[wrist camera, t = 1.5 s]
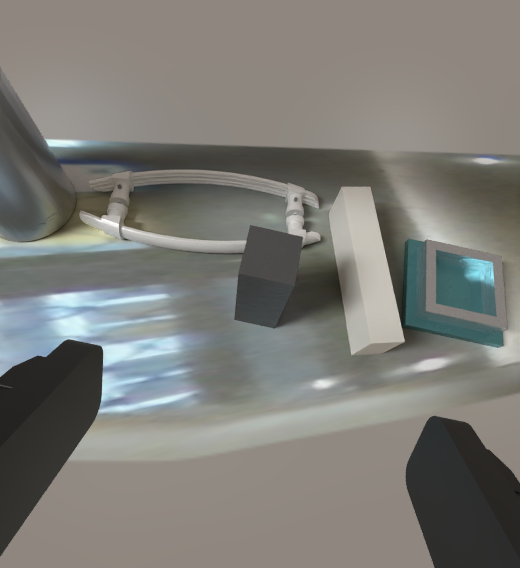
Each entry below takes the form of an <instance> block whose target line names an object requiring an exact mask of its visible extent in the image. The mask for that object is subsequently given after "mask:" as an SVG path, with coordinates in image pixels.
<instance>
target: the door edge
mask: <svg viewBox="0 0 520 568" xmlns="http://www.w3.org/2000/svg"><path fill="white" fill-rule="evenodd" d="M329 220H330V226H331V232H332V239H333V245H334V251H335V257H336V263H337V269H338V275H339V282H340V288H341V294H342V300H343V306H344V312H345V318H346V325H347V331H348V337H349V343H350V349H351V355H370V354H382V353H384V352H386V351H388V350H390V349H392V348H394V347H396V346H398V345H400V344H402V343H404V342H405V340H404V336H403V331H402V327H401V322H400V318H399V313H398V309H397V304H396V300H395V295H394V291H393V286H392V282H391V277H390V273H389V268H388V264H387V259H386V255H385V250H384V246H383V241H382V237H381V232H380V228H379V223H378V219H377V214H376V210H375V205H374V201H373V196H372V192H371V187H341V189H340V192H339V194H338V196H337V198H336V200H335V202H334V204H333V206H332V208H331V211H330V213H329Z"/></svg>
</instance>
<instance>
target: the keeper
mask: <svg viewBox="0 0 520 568" xmlns="http://www.w3.org/2000/svg"><path fill="white" fill-rule="evenodd" d="M402 327H405V328H410V329H414V330H419V331H424V332H428V333H433V334H437V335H442V336H446V337H451V338H456V339H460V340H465V341H469V342H474V343H479V344H483V345H488V346H492V347H497V348H499V347H502V346H503V332H502V331H503V330H506V329H508V328H507V316H506V304H505V292H504V280H503V268H502V256H500V255H495V254H491V253H486V252H481V251H477V250H472V249H468V248H463V247H459V246H454V245H450V244H445V243H441V242H436V241H432V240H426V241H425V242H421V241H416V240H412V239H408V240H407V241H406V242H405V259H404V284H403V309H402Z"/></svg>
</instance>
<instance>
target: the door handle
mask: <svg viewBox="0 0 520 568" xmlns="http://www.w3.org/2000/svg"><path fill="white" fill-rule="evenodd" d="M174 183H198V184H215V185H224V186H233V187H240V188H246V189H252V190H256V191H261V192H266V193H270V194H274V195H277V196H281V197H285V198H286V203H288V207H287V209H286V216H287V219H286V226H287V228H288V234H292V235H297V236H302V237H303V241H302V247H301V248H303V246H304V245H307V244H311V243H314V242H318V241H321V240H320V234H318V233H317V232H307V233H306V230H303V229H302V227H303V226H304V218H303V216H304V208H303V207H302V203H303V204H306V205H309V206H312V207H314V208H317V209H319V201H318V198H317V196H316V195H315V194H314V193H312V192H310V191H307V190H305V189H304V188H303V187H300V186H297V185H294V184H291V183H289V182H288V183H287V184H284V183H280V182H277V181H273V180H269V179H264V178H259V177H255V176H249V175H243V174H237V173H230V172H220V171H210V170H157V171H145V172H135V173H133V171H132V170H131V171H125V172H119V173H113V174H112V175H111V176H108V177H104V178H99V179H94V180H89V181H88V184H89V185H90V187H91V188H93V189H95V191H102V192H108V191H112V190H113V193H112V194H111V196H110V199H109V202H110V204H109V205H108V209H107V213H108V215H102V218H99V217H97V216H95V215H92V214H90V213H87V212H85V211H82V210H81V211H80V214H79V217H80V219H81V220H82V221H83V222H84V223H85V224H87V225H89V226H92V227H94V228H96V229H99V230H101V231H104V233H105V234H107V235H110V236H113V237H116V238H118V239H121V240H124V238H125V239H129V240H133V241H136V242H140V243H144V244H148V245H153V246H158V247H163V248H169V249H175V250H182V251H191V252H202V253H244V249H245V245H246V241H210V240H196V239H185V238H179V237H172V236H165V235H160V234H155V233H151V232H146V231H141V230H138V229H134V228H130V227H127V226H125V225H124V223H123V222H124V218H125V217H126V215H127V212H128V209H127V207H128V206H129V200H130V199H129V192H133V190H134V187H137V186H146V185H156V184H174Z"/></svg>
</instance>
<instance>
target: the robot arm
mask: <svg viewBox="0 0 520 568" xmlns="http://www.w3.org/2000/svg"><path fill="white" fill-rule="evenodd" d="M75 203H76V193H75V190H74V188H73V186H72V184H71V182H70V181H69V179H68V177H67V176H66V174H65V172H64V171H63V169H62V167H61V166H60V164H59V162H58V161H57V159H56V157H55V156H54V154H53V152H52V151H51V149H50V147H49V146H48V144H47V142H46V141H45V139H44V138H43V136H42V134H41V133H40V131H39V129H38V128H37V126H36V124H35V123H34V121H33V119H32V118H31V116H30V115H29V113H28V111H27V110H26V108H25V106H24V105H23V103H22V101H21V100H20V98H19V96H18V95H17V93H16V92H15V90H14V88H13V87H12V85H11V83H10V82H9V80H8V78H7V77H6V75H5V73H4V72H3V70H2V69H1V67H0V238H3V239H6V240H9V241H17V242H23V241H32V240H37V239H40V238H43V237H45V236H48V235H50V234H52V233H53V232H55V231H57V230H58V229H59V228H60V227H62V226H63V225H64V224H65V223H66V222H67V220H68V219H69V218H70V216H71V214H72V212H73V210H74V208H75ZM102 371H103V349H102V347H101V346H99V345H94V344H89V343H84V342H79V341H75V340H70V339H69V340H66V341H64V342H63V343H62V344H60V345H59V346H58V347H57V348H56V349H55V350H54V351H52V352H51V353H50V354H49V355H48V356H47V357H42V356H36V357H34V358H32V359H29V360H27V361H25V362H23V363H20V364H18V365H16V366H14V367H12V368H11V369H10V370H8V371H7V372H6V373H5V374H4V375H2V376H1V377H0V556H1V555H2V553H3V552H4V550H5V549H6V547H7V546H8V544H9V543H10V541H11V540H12V539H13V537H14V536H15V534H16V533H17V531H18V530H19V529H20V527H21V526H22V524H23V523H24V521H25V520H26V518H27V517H28V516H29V514H30V513H31V511H32V510H33V508H34V507H35V506H36V504H37V503H38V501H39V500H40V498H41V497H42V495H43V494H44V492H45V491H46V490H47V488H48V487H49V485H50V484H51V483H52V481H53V480H54V478H55V477H56V475H57V474H58V472H59V471H60V469H61V468H62V467H63V465H64V464H65V462H66V461H67V459H68V458H69V457H70V455H71V454H72V452H73V451H74V449H75V448H76V446H77V445H78V444H79V442H80V441H81V439H82V438H83V436H84V435H85V434H86V432H87V431H88V429H89V428H90V426H91V425H92V423H93V422H94V420H95V418H96V415H97V413H98V410H99V407H100V403H101V396H102ZM406 485H407V489H408V493H409V495H410V498H411V501H412V504H413V507H414V510H415V513H416V516H417V519H418V521H419V524H420V527H421V530H422V532H423V536H424V538H425V541H426V544H427V547H428V550H429V553H430V556H431V558H432V561H433V564H434V567H435V568H520V483H519V481H518V480H517V478H516V477H515V475H514V474H513V473H512V471H511V470H510V469H509V468H508V467H507V466H506V465H505V464H504V463H503V462H502V461H500V460H499V459H498V458H497V457H496V456H495V455H494V454H493V453H492V452H491V451H490V450H487V449H486V448H485V446H484V445H483V443H482V442H481V440H480V439H479V437H478V436H477V434H476V433H475V431H474V430H473V428H472V427H471V426H470V425H469V424H468V423H466V422H461V421H457V420H452V419H447V418H442V417H437V416H432V417H430V418H429V420H428V421H427V422H426V425H425V427H424V429H423V431H422V433H421V435H420V437H419V439H418V441H417V444H416V446H415V448H414V450H413V452H412V454H411V456H410V458H409V461H408V464H407V467H406Z"/></svg>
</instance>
